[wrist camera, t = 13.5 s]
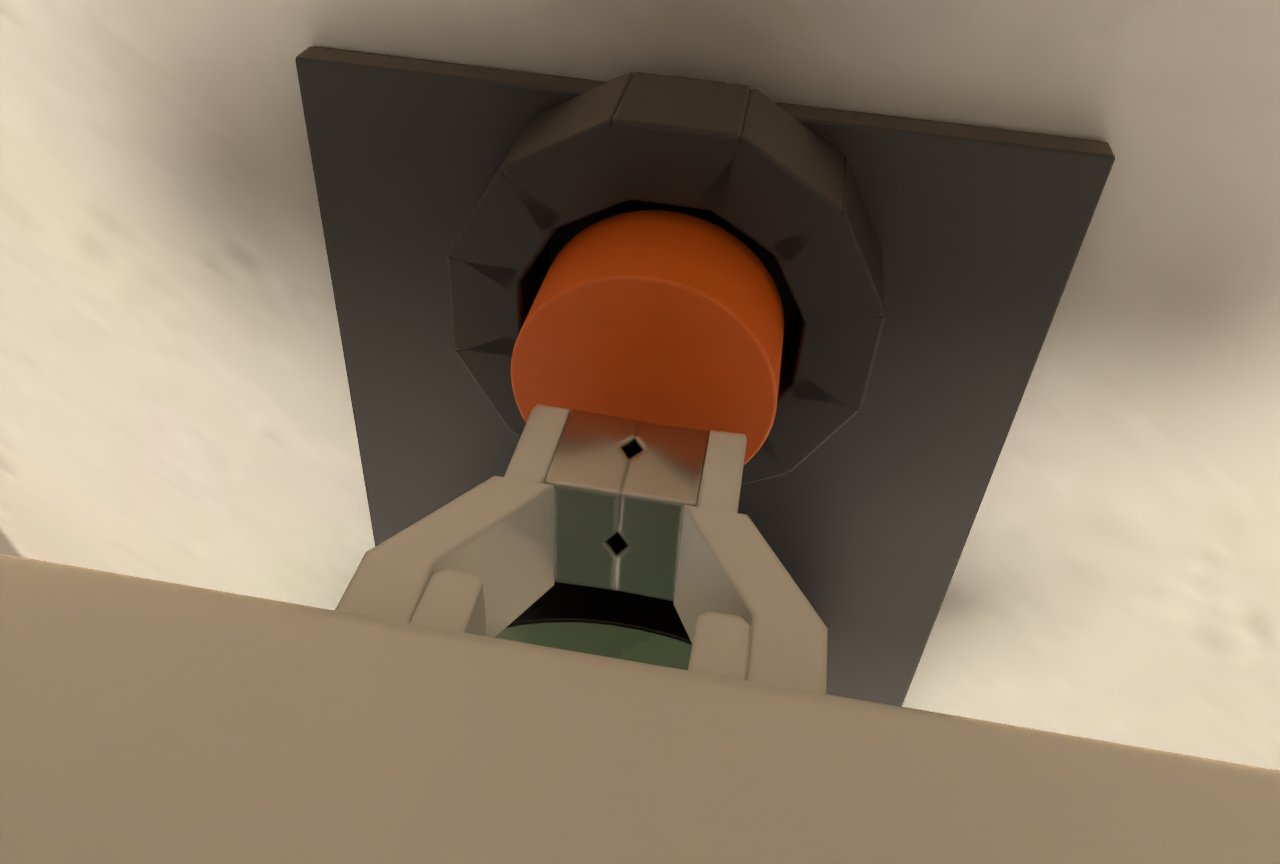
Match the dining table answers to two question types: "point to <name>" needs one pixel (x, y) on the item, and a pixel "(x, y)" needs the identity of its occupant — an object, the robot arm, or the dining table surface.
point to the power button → (655, 328)
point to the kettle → (604, 625)
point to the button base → (774, 231)
